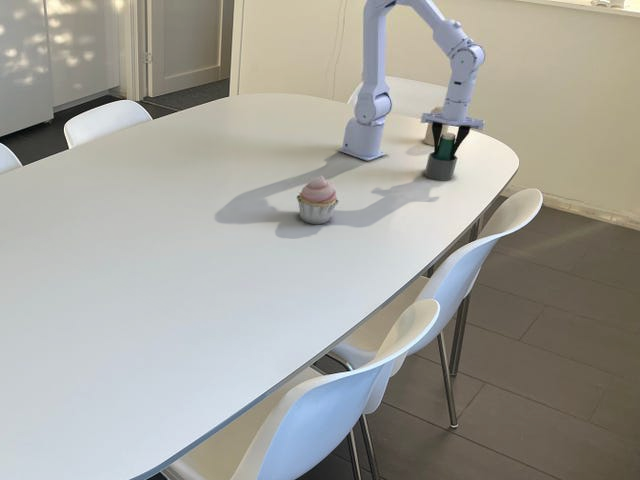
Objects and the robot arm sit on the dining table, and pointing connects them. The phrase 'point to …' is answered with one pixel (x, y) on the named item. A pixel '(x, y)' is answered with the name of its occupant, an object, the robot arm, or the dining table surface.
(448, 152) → the cylinder
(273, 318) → the dining table surface
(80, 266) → the dining table surface
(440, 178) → the cup
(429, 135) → the candle
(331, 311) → the dining table surface
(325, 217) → the cupcake
